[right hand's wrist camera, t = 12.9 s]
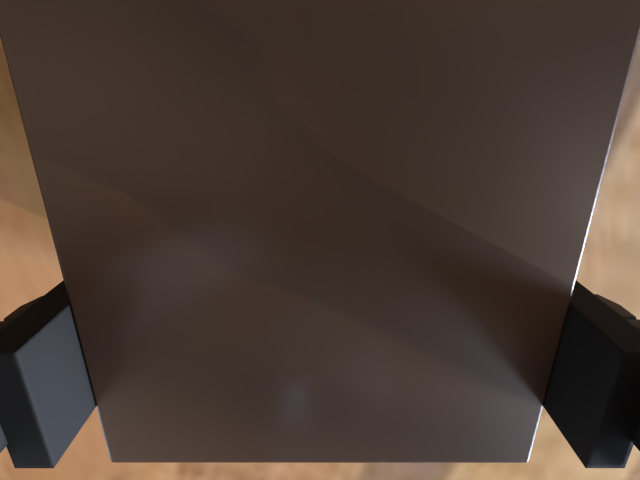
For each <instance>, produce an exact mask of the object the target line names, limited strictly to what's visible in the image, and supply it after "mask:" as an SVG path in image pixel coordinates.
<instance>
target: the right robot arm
mask: <svg viewBox="0 0 640 480" xmlns="http://www.w3.org/2000/svg"><path fill="white" fill-rule="evenodd" d="M543 406H544V408H545V409H546V411H547V412H548V414H549V415H550V417H551V418H552V420H553V421H554V422H555V424H556V425H557V427H558V428H559V430H560V431H561V433H562V434H563V436H564V437H565V438H566V440H567V441H568V443H569V444H570V446H571V447H572V449H573V450H574V452H575V453H576V454H577V456H578V457H579V459H580V460H581V462H582V463H583V465H584V466H585V468H625V465H626V463H627V460H628V458H629V455H630V452H631V450H632V447H633V445H635V446H636V447H637V448H638V450H639V451H640V320H636V317H635V316H634V315H632V314H631V313H630V312H628V311H627V310H626V309H624V308H623V307H622V306H620V305H619V304H617V303H615V302H612V301H610V300H608V299H606V298H604V297H602V296H600V295H598V294H593V293H591V292H590V291H589V290H588V289H586V288H585V287H584V286H582V285H581V284H580V283H579V282H577V281H575V285H574V289H573V293H572V296H571V300H570V304H569V308H568V312H567V316H566V320H565V323H564V327H563V331H562V335H561V339H560V343H559V346H558V350H557V354H556V358H555V362H554V366H553V369H552V373H551V377H550V381H549V385H548V389H547V393H546V396H545V400H544V404H543ZM95 407H96V402H95V399H94V395H93V391H92V387H91V383H90V379H89V375H88V372H87V368H86V364H85V360H84V356H83V352H82V348H81V345H80V341H79V337H78V333H77V329H76V325H75V321H74V318H73V314H72V310H71V306H70V302H69V298H68V294H67V291H66V287H65V283H64V280H63V281H62V282H61V283H60V284H58V285H57V286H56V287H54V288H53V289H52V290H51V291H49V292H48V293H47V294H45V295H44V296H41V297H39V298H37V299H35V300H33V301H31V302H29V303H27V304H24V305H22V306H20V307H19V308H18V309H16V310H15V311H14V312H12V313H11V314H10V315H8V316H7V317H6V318H4V321H0V453H1V451H2V450H3V449H4V448H5V447H6V446H7V449H8V451H9V454H10V456H11V459H12V462H13V464H14V467H15V468H54V467H55V465H56V464H57V463H58V461H59V460H60V458H61V457H62V455H63V454H64V452H65V451H66V449H67V448H68V447H69V445H70V444H71V442H72V441H73V439H74V438H75V436H76V435H77V433H78V432H79V431H80V429H81V428H82V426H83V425H84V423H85V422H86V420H87V419H88V417H89V416H90V415H91V413H92V412H93V410H94V409H95Z"/></svg>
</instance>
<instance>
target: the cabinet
mask: <svg viewBox="0 0 640 480" xmlns="http://www.w3.org/2000/svg"><path fill="white" fill-rule="evenodd" d="M639 35H640V0H0V36H1V40H2V44H3V48H4V52H5V55H6V59H7V63H8V67H9V71H10V75H11V79H12V82H13V86H14V90H15V94H16V98H17V102H18V105H19V109H20V113H21V117H22V121H23V125H24V129H25V132H26V136H27V140H28V144H29V148H30V152H31V156H32V159H33V163H34V167H35V171H36V175H37V179H38V183H39V186H40V190H41V194H42V198H43V202H44V206H45V210H46V213H47V217H48V221H49V225H50V229H51V233H52V237H53V240H54V244H55V248H56V252H57V256H58V260H59V264H60V267H61V271H62V275H63V279H64V283H65V287H66V291H67V294H68V298H69V302H70V306H71V310H72V314H73V318H74V321H75V325H76V329H77V333H78V337H79V341H80V345H81V348H82V352H83V356H84V360H85V364H86V368H87V372H88V375H89V379H90V383H91V387H92V391H93V395H94V399H95V402H96V406H97V410H98V414H99V418H100V422H101V426H102V429H103V433H104V437H105V441H106V445H107V449H108V452H109V456H110V460H111V462H328V463H526V462H528V461H529V458H530V454H531V450H532V446H533V443H534V439H535V435H536V431H537V427H538V423H539V419H540V416H541V412H542V408H543V404H544V400H545V396H546V393H547V389H548V385H549V381H550V377H551V373H552V369H553V366H554V362H555V358H556V354H557V350H558V346H559V343H560V339H561V335H562V331H563V327H564V323H565V320H566V316H567V312H568V308H569V304H570V300H571V296H572V293H573V289H574V285H575V281H576V277H577V273H578V270H579V266H580V262H581V258H582V254H583V250H584V247H585V243H586V239H587V235H588V231H589V227H590V223H591V220H592V216H593V212H594V208H595V204H596V200H597V197H598V193H599V189H600V185H601V181H602V177H603V174H604V170H605V166H606V162H607V158H608V154H609V150H610V147H611V143H612V139H613V135H614V131H615V127H616V124H617V120H618V116H619V112H620V108H621V104H622V100H623V97H624V93H625V89H626V85H627V81H628V77H629V74H630V70H631V66H632V62H633V58H634V54H635V51H636V47H637V43H638V39H639Z"/></svg>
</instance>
